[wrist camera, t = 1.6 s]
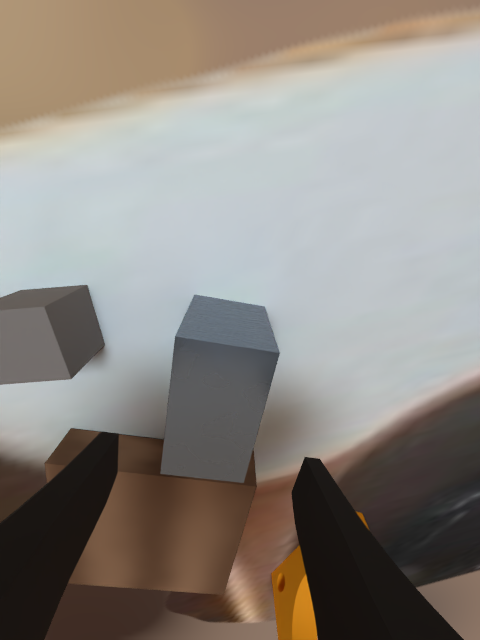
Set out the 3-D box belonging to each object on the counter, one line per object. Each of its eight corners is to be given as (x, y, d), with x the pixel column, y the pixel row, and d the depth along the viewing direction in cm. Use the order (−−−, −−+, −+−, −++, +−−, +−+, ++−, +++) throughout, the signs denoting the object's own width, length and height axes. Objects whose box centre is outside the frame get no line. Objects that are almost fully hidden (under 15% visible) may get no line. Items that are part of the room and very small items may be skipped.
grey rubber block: (45, 348, 18) (-5, 384, 14) (21, 289, 16) (-42, 313, 12) (105, 343, 18) (71, 379, 14) (87, 284, 16) (44, 306, 12)
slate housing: (179, 411, 20) (158, 489, 14) (194, 294, 16) (175, 336, 11) (237, 419, 20) (239, 497, 15) (264, 306, 17) (279, 352, 11)
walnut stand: (77, 541, 25) (58, 582, 22) (70, 428, 20) (44, 463, 17) (224, 554, 26) (223, 594, 24) (253, 450, 21) (256, 486, 19)
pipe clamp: (305, 581, 29) (324, 677, 23) (271, 571, 28) (281, 669, 22) (376, 516, 25) (420, 612, 19) (338, 503, 24) (373, 598, 18)
